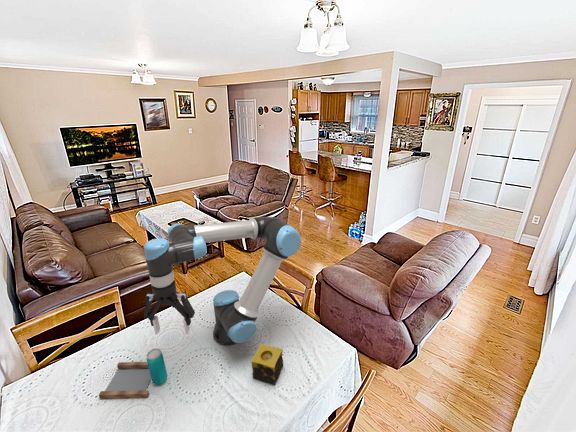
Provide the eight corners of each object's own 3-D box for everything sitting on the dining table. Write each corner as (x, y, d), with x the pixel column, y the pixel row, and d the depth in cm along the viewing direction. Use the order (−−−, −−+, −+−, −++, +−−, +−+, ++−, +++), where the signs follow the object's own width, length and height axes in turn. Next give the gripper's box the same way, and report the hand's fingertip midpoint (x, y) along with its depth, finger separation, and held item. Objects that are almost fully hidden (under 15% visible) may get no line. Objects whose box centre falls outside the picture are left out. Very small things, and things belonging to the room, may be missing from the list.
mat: (155, 369, 120) (155, 368, 120) (144, 394, 110) (144, 393, 110) (117, 370, 120) (117, 369, 120) (102, 395, 110) (102, 394, 110)
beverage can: (166, 372, 119) (160, 345, 113) (169, 382, 114) (163, 355, 109) (151, 379, 116) (144, 351, 111) (153, 390, 112) (146, 362, 106)
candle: (283, 365, 122) (283, 348, 118) (275, 386, 113) (274, 368, 109) (262, 359, 125) (261, 342, 121) (252, 378, 116) (251, 361, 113)
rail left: (149, 394, 110) (148, 390, 109) (147, 398, 108) (146, 393, 108) (102, 395, 109) (100, 391, 109) (100, 399, 108) (98, 394, 107)
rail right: (162, 365, 122) (161, 361, 121) (160, 368, 121) (159, 364, 120) (120, 366, 122) (118, 362, 121) (118, 369, 120) (116, 365, 119)
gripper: (199, 275, 101) (206, 323, 110) (134, 276, 101) (146, 324, 109) (193, 288, 94) (200, 338, 103) (124, 289, 94) (137, 339, 102)
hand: (172, 331), depth 106 cm, fingers open, 10 cm apart
